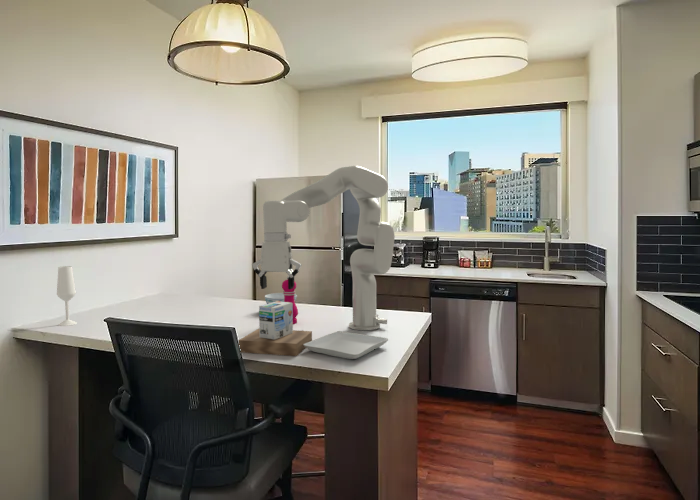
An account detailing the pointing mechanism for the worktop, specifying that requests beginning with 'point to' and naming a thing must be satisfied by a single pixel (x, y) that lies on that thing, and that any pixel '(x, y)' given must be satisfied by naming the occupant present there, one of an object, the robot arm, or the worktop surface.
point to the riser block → (275, 343)
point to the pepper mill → (290, 298)
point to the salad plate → (345, 344)
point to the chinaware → (276, 297)
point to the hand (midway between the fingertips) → (277, 288)
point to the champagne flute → (66, 290)
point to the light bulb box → (275, 320)
